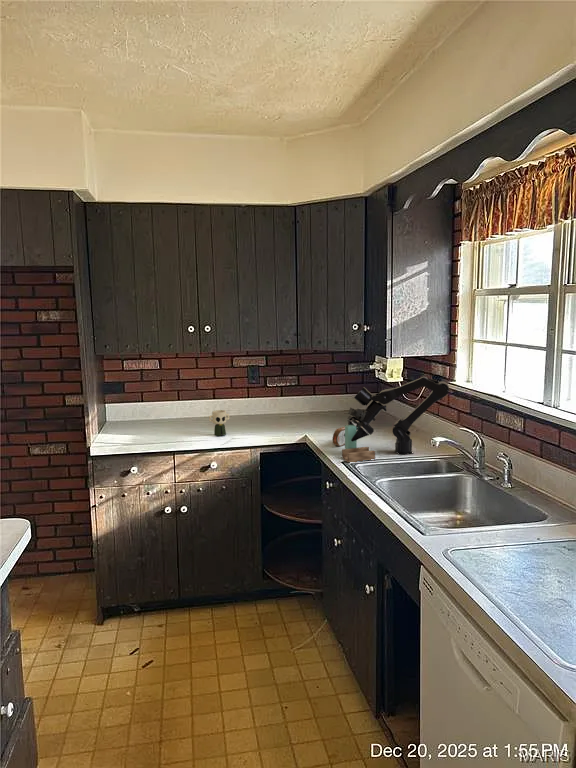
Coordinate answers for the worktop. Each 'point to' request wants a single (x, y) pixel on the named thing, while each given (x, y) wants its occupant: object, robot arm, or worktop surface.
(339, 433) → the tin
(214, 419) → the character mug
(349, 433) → the block
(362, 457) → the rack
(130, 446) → the worktop surface
